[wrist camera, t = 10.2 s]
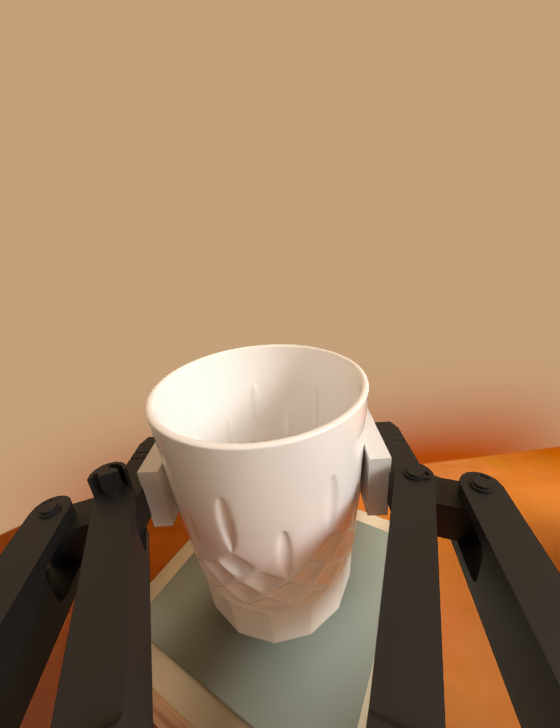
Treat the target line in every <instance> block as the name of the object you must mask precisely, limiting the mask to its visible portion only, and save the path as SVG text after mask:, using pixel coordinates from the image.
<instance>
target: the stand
mask: <svg viewBox="0 0 560 728" xmlns="http://www.w3.org/2000/svg"><path fill="white" fill-rule="evenodd" d="M389 523H390V521H388V520H385V519H383V518H380V517H377V516H374V515H371V516H367V513H366V512H364V511H361V510H358V511H357V521H356V530H355V537H354V542H353V547H352V551H351V566H350V576H349V579H348V582H347V585H346V588H345V591H344V594H343V597H342V600H341V603H340V606H339V608H338V609H337V610H336V611H335V612H334V613H333V614H332V615H331V616H330V617H329V618H328V619H327V620H326V621H325V622H324V623H323V624H322V625H321V626H319V627H318V628H317V629H316V630H315V631H314V632H313V633H312V634H310V635H306V636H302V637H298V638H294V639H290V640H286V641H283V642H279V643H271V642H267V641H264V640H261V639H257V638H254V637H251V636H247V635H244V634H241V633H239V632H238V631H237V630H236V629H235V628H234V627H233V626H232V625H231V624H230V622H229V621H228V620H227V619H226V618H225V617H224V616H223V615H222V614H221V612H220V611H219V610H218V609H217V608H216V607H215V604H214V601H213V598H212V595H211V592H210V589H209V585H208V582H207V579H206V576H205V573H204V571H203V570H202V568H201V566H200V564H199V562H198V560H197V558H196V556H195V553H194V551H193V548H192V545H191V542H190V539H189V540H188V542H187V543H186V544H185V545H184V546H183V547H182V548H181V549H180V550H179V552H178V553H177V554H176V555H175V556H174V557H173V558H172V559H171V560H170V562H169V563H168V564H167V565H166V566H165V567H164V568H163V569H162V570H161V572H160V573H159V574H158V575H157V576H156V577H155V578H154V579H153V580H152V582H151V583H150V604H151V650H152V696H153V723H154V724H155V725H156V726H157V727H158V728H366V723H367V715H368V709H369V701H370V692H371V684H372V675H373V666H374V657H375V648H376V639H377V630H378V621H379V612H380V603H381V594H382V586H383V577H384V568H385V559H386V550H387V541H388V532H389Z"/></svg>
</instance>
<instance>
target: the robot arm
mask: <svg viewBox="0 0 560 728" xmlns="http://www.w3.org/2000/svg"><path fill="white" fill-rule="evenodd" d="M87 481H88V483H89V486H90V488H91V491H92V493H93V495H94V498H92V499H88V500H85V501H82V502H78V503H75V504H72V502H71V499H70V498H69V497H67V496H57V497H53V498H50V499H49V500H46V501H44V502H42V503H41V504H40V505H38V506H37V507H35V508H34V510H33V511H32V512H31V513H30V514H29V515H28V517H27V518H26V520H25V521H24V522H23V524H22V525H21V527H20V528H19V529H18V531H17V532H16V534H15V535H14V536H13V538H12V539H11V540H10V542H9V543H8V545H7V546H6V547H5V549H4V550H3V552H2V553H1V554H0V728H19V727H20V724H21V722H22V720H23V717H24V715H25V713H26V710H27V708H28V706H29V703H30V701H31V699H32V696H33V694H34V692H35V689H36V687H37V685H38V682H39V680H40V677H41V675H42V673H43V670H44V668H45V666H46V663H47V661H48V659H49V656H50V654H51V652H52V649H53V647H54V645H55V642H56V640H57V638H58V635H59V633H60V631H61V628H62V626H63V624H64V621H65V619H66V617H67V614H68V612H69V610H70V607H71V605H72V603H73V600H74V598H75V601H74V606H73V612H72V617H71V622H70V627H69V633H68V638H67V643H66V649H65V654H64V659H63V664H62V670H61V675H60V680H59V685H58V691H57V696H56V701H55V707H54V712H53V717H52V722H51V728H153V696H152V650H151V604H150V558H149V533H148V530H147V527H146V526H147V524H148V522H149V520H150V517H151V518H152V521H153V524H154V527H160V526H173V525H174V522H175V519H176V517H177V514H178V508H177V505H176V502H175V499H174V496H173V493H172V490H171V487H170V484H169V481H168V478H167V475H166V472H165V469H164V466H163V463H162V460H161V457H160V454H159V451H158V448H157V445H156V443H155V440H154V437H149V438H147V439H146V440H145V441H144V442H142V443H141V444H140V445H139V447H138V448H137V450H136V451H135V453H134V454H133V456H132V457H131V460H129V462H128V464H127V465H125V464H124V463H122V462H113V463H108V464H105V465H103V466H101V467H99V468H97V469H96V470H95V471H93V472H92V473H91V474H90V475H89V477H88V479H87ZM360 492H361V496H362V499H363V502H364V506H365V509H366V512H367V516H371V515H387V511H388V505H389V508H390V510H391V514H390V523H389V532H388V541H387V550H386V559H385V568H384V577H383V586H382V594H381V603H380V612H379V621H378V630H377V639H376V648H375V657H374V666H373V675H372V684H371V692H370V701H369V709H368V715H367V723H366V728H446V727H445V704H444V681H443V658H442V634H441V611H440V588H439V565H438V542H437V536H438V537H442V538H446V539H451V541H452V544H453V547H454V549H455V552H456V555H457V557H458V560H459V563H460V565H461V568H462V571H463V573H464V576H465V579H466V581H467V584H468V587H469V589H470V592H471V595H472V597H473V600H474V603H475V605H476V608H477V611H478V613H479V616H480V619H481V621H482V624H483V627H484V629H485V632H486V635H487V637H488V640H489V643H490V645H491V648H492V651H493V654H494V656H495V659H496V662H497V664H498V667H499V670H500V672H501V675H502V678H503V680H504V683H505V686H506V688H507V691H508V694H509V696H510V699H511V702H512V704H513V707H514V710H515V712H516V715H517V718H518V720H519V723H520V726H521V728H560V573H559V571H558V570H557V568H556V567H555V565H554V564H553V562H552V561H551V559H550V558H549V556H548V555H547V553H546V552H545V550H544V548H543V547H542V545H541V544H540V542H539V541H538V539H537V538H536V536H535V535H534V533H533V532H532V530H531V529H530V527H529V525H528V524H527V522H526V521H525V519H524V518H523V516H522V515H521V513H520V512H519V510H518V509H517V507H516V506H515V504H514V502H513V501H512V499H511V498H510V496H509V495H508V493H507V492H506V490H505V489H504V487H503V486H502V485H501V484H500V483H499V482H498V481H497V480H496V479H494V478H492V477H491V476H488V475H486V474H483V473H478V472H467V473H465V474H463V475H461V477H460V480H459V481H455V480H449V479H444V478H440V477H437V476H434V474H433V472H432V471H431V470H430V469H429V468H427V467H426V466H424V465H422V464H419V462H418V460H417V459H416V457H415V455H414V454H413V452H412V450H411V449H410V447H409V445H408V444H407V443H406V440H405V438H404V437H403V435H402V434H401V432H400V430H399V428H398V427H396V426H395V425H394V424H392V423H391V422H377V423H376V422H375V423H374V421H373V419H372V416H371V414H370V412H369V410H368V409H367V414H366V426H365V437H364V449H363V461H362V473H361V485H360Z"/></svg>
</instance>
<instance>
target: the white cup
mask: <svg viewBox="0 0 560 728" xmlns="http://www.w3.org/2000/svg"><path fill="white" fill-rule="evenodd" d="M368 391H369V383H368V379H367V376H366V374H365V372H364V371H363V370H362V369H361V367H360V366H358V365H357V364H356V363H355V362H353V361H352V360H350V359H349V358H347V357H345V356H343V355H340V354H338V353H335V352H332V351H329V350H325V349H321V348H316V347H311V346H303V345H290V344H289V345H288V344H274V345H273V344H271V345H257V346H249V347H242V348H236V349H231V350H226V351H222V352H218V353H215V354H211V355H208V356H205V357H202V358H199V359H197V360H195V361H192V362H190V363H188V364H186V365H183V366H182V367H180V368H178V369H176V370H175V371H173V372H171V373H170V374H168V375H167V376H165V377H164V378H163V379H162V380H161V381H160V382H158V384H156V386H155V387H154V388H153V389H152V391H151V392H150V394H149V396H148V398H147V401H146V405H145V412H146V416H147V419H148V422H149V425H150V428H151V431H152V434H153V437H154V440H155V443H156V445H157V448H158V451H159V454H160V457H161V460H162V463H163V466H164V469H165V472H166V475H167V478H168V481H169V484H170V487H171V490H172V493H173V496H174V499H175V502H176V505H177V508H178V511H179V514H180V516H181V519H182V522H183V524H184V527H185V529H186V532H187V533H188V536H189V539H190V542H191V545H192V548H193V551H194V553H195V556H196V558H197V560H198V562H199V564H200V566H201V568H202V570H203V571H204V573H205V576H206V579H207V582H208V585H209V589H210V592H211V595H212V598H213V601H214V604H215V607H216V608H217V609H218V610H219V611H220V612H221V614H222V615H223V616H224V617H225V618H226V619H227V620H228V621H229V622H230V624H231V625H232V626H233V627H234V628H235V629H236V630H237V631H238V632H239V633H241V634H244V635H247V636H251V637H254V638H257V639H261V640H264V641H267V642H271V643H279V642H283V641H286V640H290V639H294V638H298V637H302V636H306V635H310V634H312V633H313V632H314V631H315V630H316V629H317V628H318V627H319V626H321V625H322V624H323V623H324V622H325V621H326V620H327V619H328V618H329V617H330V616H331V615H332V614H333V613H334V612H335V611H336V610H337V609H338V608H339V606H340V603H341V600H342V597H343V594H344V591H345V588H346V585H347V582H348V579H349V576H350V566H351V551H352V547H353V542H354V537H355V530H356V521H357V511H358V504H359V496H360V485H361V473H362V461H363V449H364V437H365V426H366V414H367V403H368Z"/></svg>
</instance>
